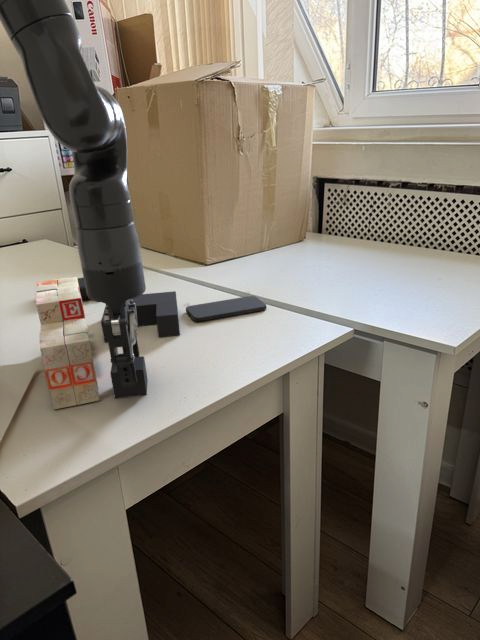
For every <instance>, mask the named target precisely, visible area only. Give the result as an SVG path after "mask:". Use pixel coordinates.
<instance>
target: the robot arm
mask: <svg viewBox="0 0 480 640" xmlns="http://www.w3.org/2000/svg"><path fill="white" fill-rule="evenodd" d="M0 23H1V25H2V28H3V29H4V31H5V33H6V35H7V36H8V39H9V41H10V43H11V44H12V46H13V47H14V49H15V51H16V52H17V54H18V56H19V58H20V60H21V64H22V66H23V71H24V74H25V78H26V81H27V83H28V85H29V88H30V91H31V94H32V97H33V100H34V103H35V105H36V107H37V110H38V113H39V116H40V117H41V119H42V121H43V123H44V125H45V126H46V128H47V130H48V132H49V133H50V134H51V136H53V138H54V139H55V140H56V141H57V142H58V144H59V145H61V146H62V147H64V148H65V149H67V150H68V151H71V152H72V159H73V168H74V169H73V171H74V174H73V176H72V178H71V180H70V182H69V186H68V191H69V192H68V193H69V201H70V205H71V209H72V214H73V219H74V225H75V232H76V247H77V252H78V257H79V260H80V261H79V262H80V267H81V271H82V276H83V277H84V282H85V287H86V292H87V296H88V298H89V299H88V300H90V301H92V302H94V303H102V304H105V306H106V304H107V306H106V313H104V312H103V313H104V322H105V323H104V326H105V328H106V333H107V339H108V342H107V344H108V349H109V355H110V363H111V366H112V365H116V366H117V371H118V377H119V382H120V386H121V387H122V388H127V387H135V386H136V385H137V377H136V371H135V365H134V359H135V357H140V349H139V342H138V336H137V334H138V327H139V326H138V320H137V310H136V304H134V303H133V299H134V298H137V297H139V296H141V295H142V294H145V291H146V289H147V288H146V279H145V274H144V265H143V259H142V253H141V246H140V245H141V244H140V239H139V236H138V232H137V229H136V225H135V224H136V223H135V219H134V212H133V205H132V200H131V194H130V189H129V184H128V137H127V127H126V123H125V117H124V112H123V110H122V108H121V106H120V104H119V102H118V100H117V99H116V97H115V96H114V95H113V94H111V92H110V91H108V90H107V89H105V88H104V87H101V86H98V85H96V84H95V81H94V80H93V77H92V76H91V75H92V74H91V73H90V71H89V69H88V66H87V64H86V61H85V59H84V57H83V54H82V53H81V51H82V47H83V41H82V37H81V34H80V30H79V28H78V26H77V24H76V21H75V19H74V17H73V15H72V13H71V10H70V9H69V7H68V4H67V2H66V0H0ZM83 277H82V278H83ZM119 348H122V353H119V350H118V349H119Z"/></svg>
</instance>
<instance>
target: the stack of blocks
mask: <svg viewBox="0 0 480 640" xmlns="http://www.w3.org/2000/svg"><path fill="white" fill-rule="evenodd" d="M78 278H79V277H78V276H73V277H72V276H71V277H65V278H58V279H50V280H49V279H48V280H43V281H37V282H36V286H35V291H36V292H35V306H36V310H37V314H38V319H39V322H40V331H39V344H40V346H39V349H40V350H39V351H40V354H41V357H42V362H43V367H44V374H45V379H46V383H47V387H48V388H47V389H48V392H49V395H50V400H51V403H52V408H53V410H58V409H64V408H67V407H68V408H69V407H73V406H74V407H75V406H79V405H84V404H88V403H93V402H98V401H100V400H101V399H100V394H99V386H98V380H97V373H96V369H95V363H94V357H93V356H94V355H93V350H92V344H91V339H90V334H89V328H88V326H87V321H86V315H85V308H84V304H83V300H82V298H81V294H80V289H79V284H78Z"/></svg>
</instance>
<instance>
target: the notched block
mask: <svg viewBox="0 0 480 640" xmlns="http://www.w3.org/2000/svg"><path fill="white" fill-rule="evenodd" d="M133 303H134V304H136V310H137V320H138V326H137V327H144V326H153V325H154V326H155V325H156V326H157V335H158V338H166V337H177V336H180V335H181V331H180V321H179V310H178V301H177V292H176V290H174V291H165V292H164V291H163V292H151V293H143V294H142V295H141V296H139V297H137V298H134V299H133ZM106 306H107V304H105V306H104V310H103V313H102V317H101V320H100V325H101V329H102V335H103V340H104V343H107V344H108V339H107V333H106V328H105V326H104V323H105V322H104V313H106Z"/></svg>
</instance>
